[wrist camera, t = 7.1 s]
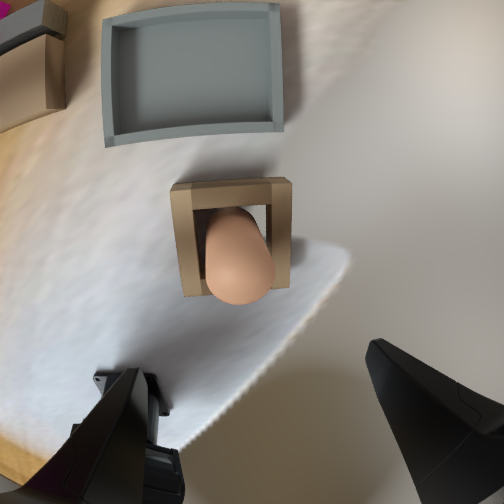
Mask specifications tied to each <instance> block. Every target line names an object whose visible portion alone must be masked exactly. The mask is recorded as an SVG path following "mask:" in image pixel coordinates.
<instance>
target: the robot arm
mask: <svg viewBox="0 0 504 504" xmlns="http://www.w3.org/2000/svg"><path fill="white" fill-rule="evenodd" d="M365 360H366V365H367V368H368V371H369V374H370V377H371V380H372V383H373V386H374V389H375V392H376V395H377V398H378V400H379V403H380V405H381V407H382V409H383V411H384V414H385V416H386V418H387V420H388V423H389V425H390V427H391V429H392V432H393V434H394V436H395V439H396V441H397V443H398V446H399V448H400V450H401V453H402V455H403V458H404V460H405V462H406V465H407V467H408V470H409V472H410V474H411V477H412V479H413V482H414V484H415V487H416V490H417V493H418V495H419V498H420V501H421V503H422V504H504V405H503V404H500V403H498V402H496V401H494V400H491V399H489V398H487V397H484V396H483V395H480V394H478V393H476V392H474V391H472V390H470V389H469V388H467V387H465V386H463V385H462V384H460V383H458V382H457V383H456V381H455V380H453V379H451V378H449V377H448V376H446V375H444V374H442V373H441V372H439V371H437V370H435V369H434V368H432V367H430V366H428V365H427V364H425V363H423V362H422V361H420V360H418V359H416V358H415V357H413V356H411V355H409V354H408V353H406V352H404V351H403V350H401V349H399V348H398V347H396V346H394V345H392V344H391V343H389V342H387V341H386V340H384V339H382V338H378V339H374V340H371V341H370V343H369V346H368V350H367V353H366V357H365ZM93 380H94V382H95V384H96V386H97V387H98V389H99V391H100V393H101V394H102V396H101V400H100V401H99V402H98V403H97V404H96V406H95V407H94V408H93V409H92V410H91V412H90V413H89V414H88V415H87V417H86V418H85V419H83V421H82V423H81V424H80V423H79V424H73V426H72V430H71V434H70V437H69V438H68V440H67V441H66V442H65V443H64V444H63V446H62V447H61V448H60V449H59V450H58V451H57V453H56V454H55V455H54V456H53V457H52V458H51V459H50V460H49V461H48V462H47V463H46V464H45V465H44V466H43V467H42V468H41V469H40V470H39V471H38V472H37V473H36V474H35V475H34V476H33V477H32V478H31V479H29V480H28V481H27V482H26V483H25V484H24V485H23V486H21V487H20V488H18V489H16V490H13V491H9V492H4V493H0V504H182V503H183V500H184V496H185V484H184V478H183V474H182V469H181V464H180V460H179V454H178V450H176V449H172V448H171V449H169V448H165V447H161V446H158V445H157V436H158V422H159V416H169V415H170V410H169V408H168V405H167V403H166V400H165V398H164V395H163V393H162V390H161V387H160V385H159V382H158V379H157V377H156V376H155V375H153V374H143V372H142V370H141V368H140V367H128V368H127V369H126V370H125V371H124V372H123V373H122V374H103V373H95V374H94V376H93Z"/></svg>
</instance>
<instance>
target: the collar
mask: <svg viewBox="0 0 504 504" xmlns="http://www.w3.org/2000/svg"><path fill="white" fill-rule="evenodd" d="M170 200H171V209H172V217H173V225H174V233H175V241H176V248H177V255H178V262H179V268H180V275H181V281H182V287H183V293H184V297H191V296H204V295H213V294H212V292H211V291H210V289H209V288H208V285H207V282H206V265H201V264H200V255H199V246H198V237H197V227H196V217H195V210H196V209H208V208H220V207H234V206H249V205H265V204H266V246H267V248H268V251H269V253H270V255H271V257H272V260H273V262H274V265H275V271H276V274H275V280H274V283H273V285H272V287H271V288H270V289H280V288H289V286H290V259H291V222H292V183H291V182H289V181H288V180H287V179H286V178H285V177H268V178H247V179H231V180H216V181H203V182H192V183H181V184H173V186H172V188H171V190H170Z"/></svg>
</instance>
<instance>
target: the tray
mask: <svg viewBox="0 0 504 504" xmlns="http://www.w3.org/2000/svg"><path fill="white" fill-rule="evenodd" d="M101 93H102V114H103V129H104V141H105V148H107V147H113V146H119V145H125V144H132V143H138V142H145V141H153V140H161V139H170V138H179V137H189V136H201V135H214V134H231V133H257V132H284V114H283V73H282V45H281V22H280V4H276V3H256V2H221V3H201V4H189V5H179V6H170V7H163V8H156V9H150V10H144V11H138V12H133V13H128V14H124V15H119V16H115V17H111V18H107V19H103V21H102V41H101Z"/></svg>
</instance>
